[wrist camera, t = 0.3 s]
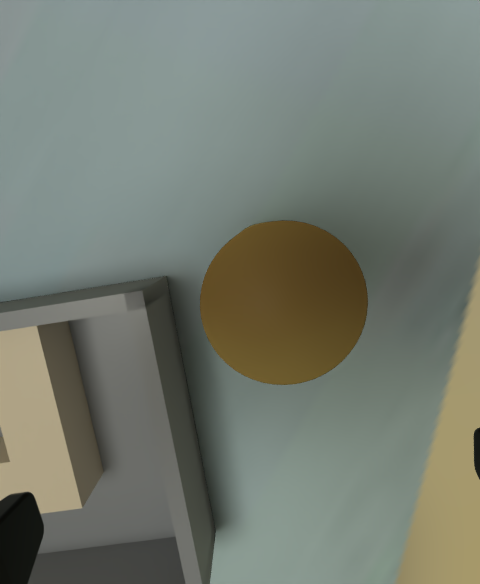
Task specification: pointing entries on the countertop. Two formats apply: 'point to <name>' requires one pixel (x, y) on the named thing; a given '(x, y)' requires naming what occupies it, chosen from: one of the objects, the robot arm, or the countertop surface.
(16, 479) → the bore box
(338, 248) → the peg
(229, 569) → the countertop surface
